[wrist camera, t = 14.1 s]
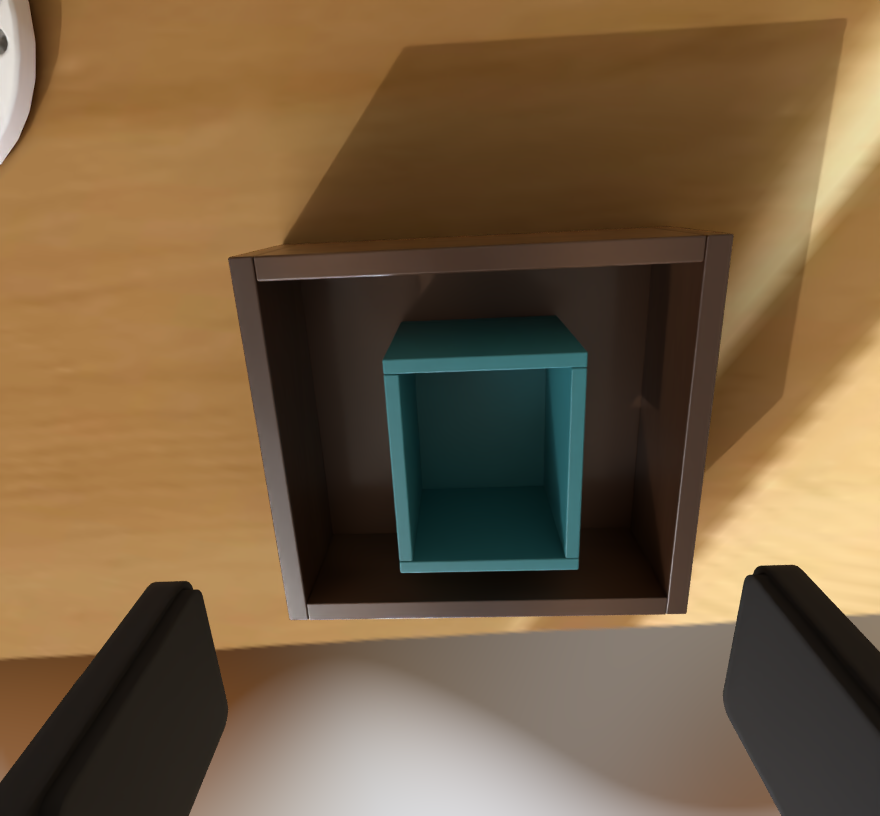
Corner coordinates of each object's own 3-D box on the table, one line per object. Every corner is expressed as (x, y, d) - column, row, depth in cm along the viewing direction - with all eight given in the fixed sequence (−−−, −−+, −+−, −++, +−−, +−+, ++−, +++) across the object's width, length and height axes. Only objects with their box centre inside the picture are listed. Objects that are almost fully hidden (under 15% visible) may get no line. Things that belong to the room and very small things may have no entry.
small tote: (552, 489, 26) (578, 570, 20) (413, 493, 26) (400, 573, 20) (556, 315, 23) (588, 351, 17) (400, 321, 23) (381, 359, 18)
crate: (321, 541, 28) (289, 620, 23) (280, 244, 23) (227, 257, 18) (643, 534, 27) (687, 614, 22) (669, 226, 22) (735, 233, 17)
